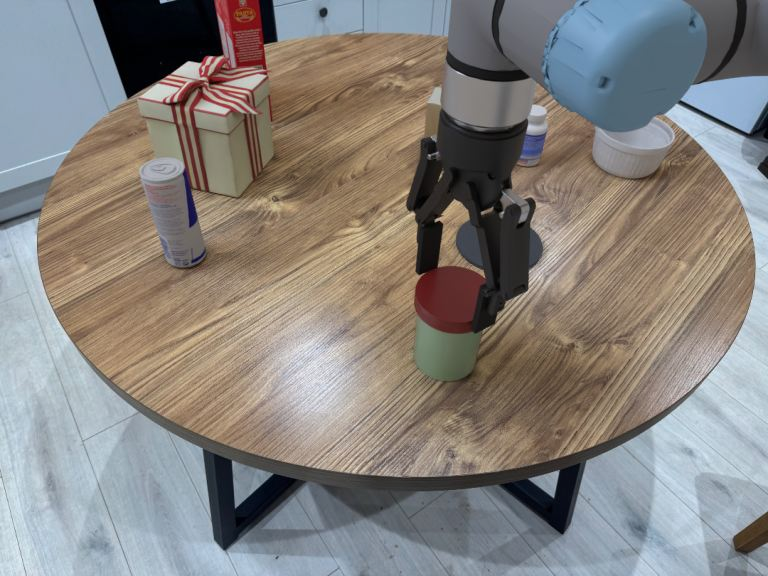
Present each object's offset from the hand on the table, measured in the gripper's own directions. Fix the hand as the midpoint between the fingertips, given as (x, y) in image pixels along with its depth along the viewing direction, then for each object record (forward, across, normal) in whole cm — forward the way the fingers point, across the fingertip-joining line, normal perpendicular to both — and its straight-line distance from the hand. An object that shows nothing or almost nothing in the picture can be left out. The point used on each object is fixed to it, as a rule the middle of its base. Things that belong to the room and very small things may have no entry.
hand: (453, 296), depth 64 cm
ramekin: (+11, +19, -55) cm, 59 cm away
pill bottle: (+11, +29, -40) cm, 50 cm away
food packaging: (+11, +72, -5) cm, 73 cm away
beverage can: (+11, +34, +21) cm, 41 cm away
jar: (+10, 0, 0) cm, 10 cm away
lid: (0, 0, 0) cm, 1 cm away
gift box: (+11, +53, +7) cm, 54 cm away
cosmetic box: (+11, +37, -26) cm, 46 cm away
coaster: (+10, +13, -20) cm, 26 cm away
